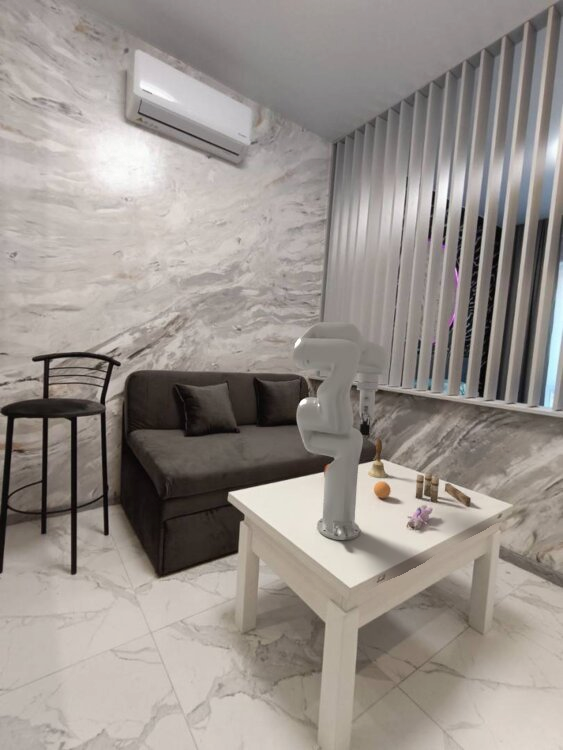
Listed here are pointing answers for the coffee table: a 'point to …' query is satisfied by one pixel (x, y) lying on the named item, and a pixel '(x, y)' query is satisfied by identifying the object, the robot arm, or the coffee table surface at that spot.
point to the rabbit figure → (419, 517)
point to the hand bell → (378, 464)
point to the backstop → (457, 494)
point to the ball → (382, 489)
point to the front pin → (419, 486)
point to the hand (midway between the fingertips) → (364, 431)
